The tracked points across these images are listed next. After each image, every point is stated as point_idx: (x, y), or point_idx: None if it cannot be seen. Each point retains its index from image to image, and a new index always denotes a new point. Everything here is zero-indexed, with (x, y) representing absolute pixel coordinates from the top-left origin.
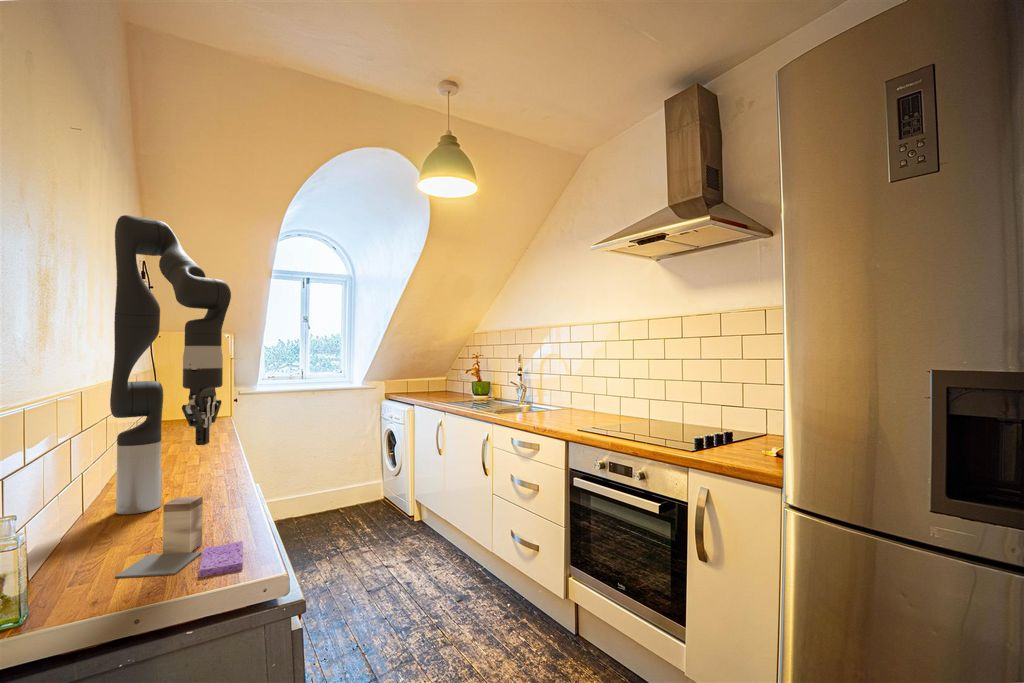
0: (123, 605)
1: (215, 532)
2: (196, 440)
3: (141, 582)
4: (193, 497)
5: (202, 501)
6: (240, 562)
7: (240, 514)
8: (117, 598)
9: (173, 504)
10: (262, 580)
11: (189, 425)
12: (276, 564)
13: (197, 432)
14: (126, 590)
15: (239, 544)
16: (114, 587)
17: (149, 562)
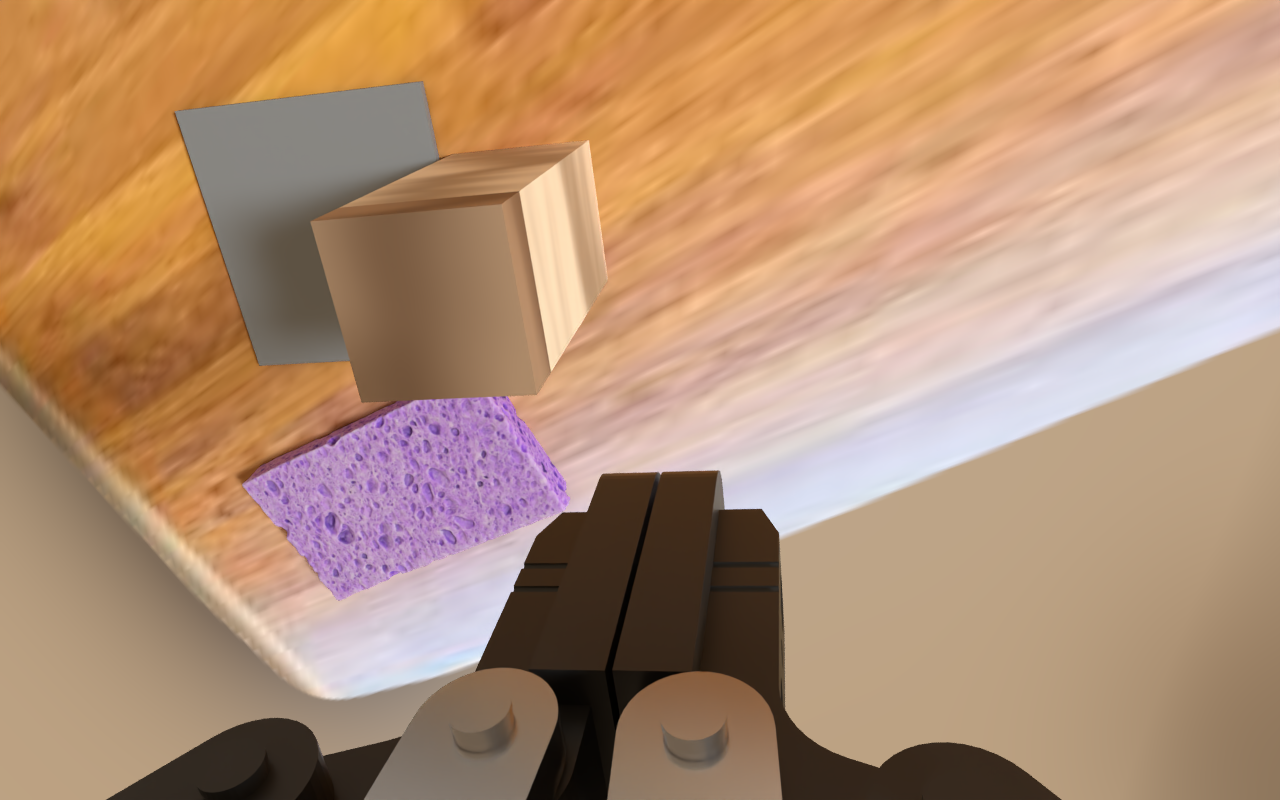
0: (25, 330)
1: (796, 254)
2: (538, 548)
3: (177, 268)
4: (505, 341)
5: (546, 377)
6: (336, 593)
7: (1190, 232)
8: (53, 270)
9: (331, 292)
10: (283, 669)
11: (205, 745)
12: (405, 673)
13: (498, 665)
14: (109, 257)
15: (522, 513)
16: (114, 183)
17: (333, 169)
